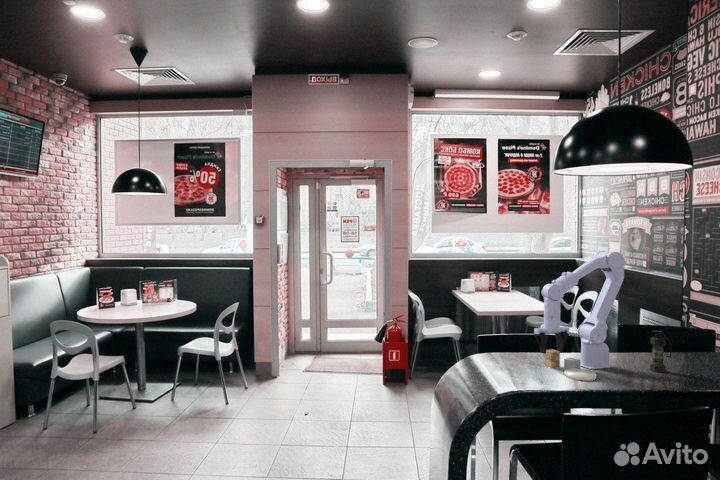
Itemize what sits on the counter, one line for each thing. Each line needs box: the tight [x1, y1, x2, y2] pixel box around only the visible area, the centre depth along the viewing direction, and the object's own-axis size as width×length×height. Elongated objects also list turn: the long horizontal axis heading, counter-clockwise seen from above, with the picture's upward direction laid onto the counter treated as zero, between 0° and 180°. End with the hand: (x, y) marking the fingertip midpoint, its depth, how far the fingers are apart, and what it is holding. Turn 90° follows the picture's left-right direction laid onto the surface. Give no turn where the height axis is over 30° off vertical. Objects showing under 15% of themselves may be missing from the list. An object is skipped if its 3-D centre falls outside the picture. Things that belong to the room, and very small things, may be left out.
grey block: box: [563, 357, 581, 371], centre depth 174 cm, size 4×4×4 cm
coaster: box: [563, 368, 597, 382], centre depth 165 cm, size 10×10×2 cm
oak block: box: [543, 349, 561, 369], centre depth 178 cm, size 4×4×6 cm
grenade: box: [649, 329, 672, 373], centre depth 173 cm, size 6×6×15 cm
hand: (551, 352), depth 178 cm, fingers open, 7 cm apart
